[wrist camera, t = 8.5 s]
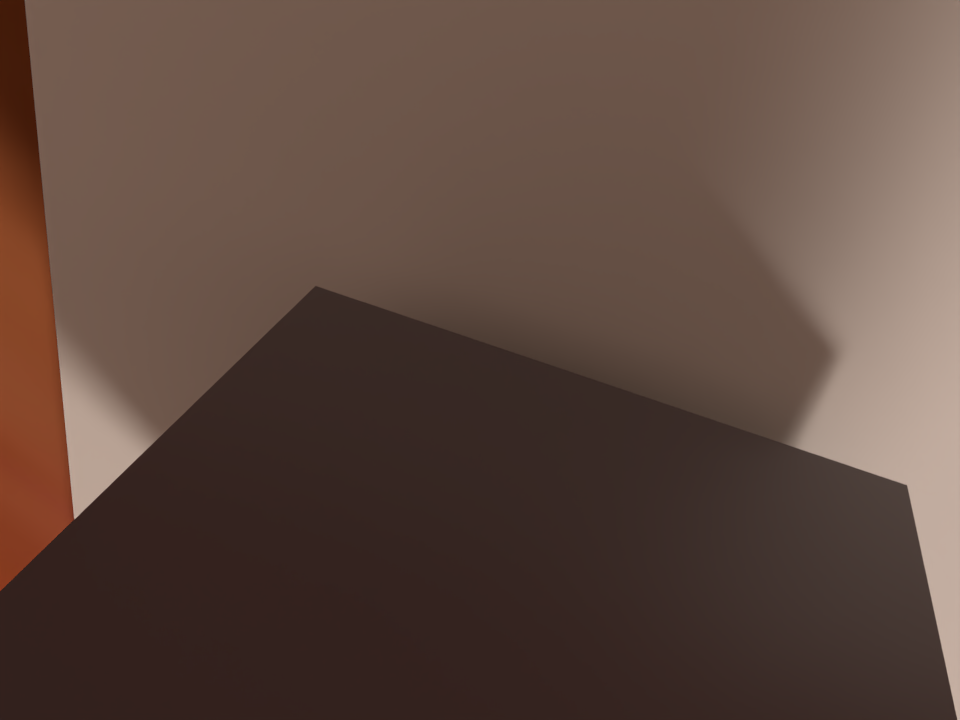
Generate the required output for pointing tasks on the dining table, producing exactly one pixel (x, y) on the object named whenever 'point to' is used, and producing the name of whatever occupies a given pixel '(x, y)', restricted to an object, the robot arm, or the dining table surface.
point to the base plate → (523, 208)
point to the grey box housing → (468, 555)
